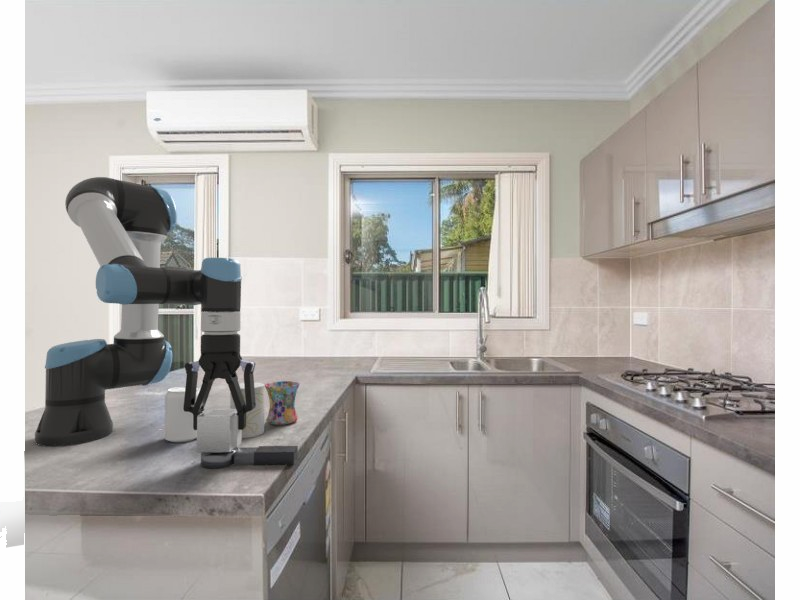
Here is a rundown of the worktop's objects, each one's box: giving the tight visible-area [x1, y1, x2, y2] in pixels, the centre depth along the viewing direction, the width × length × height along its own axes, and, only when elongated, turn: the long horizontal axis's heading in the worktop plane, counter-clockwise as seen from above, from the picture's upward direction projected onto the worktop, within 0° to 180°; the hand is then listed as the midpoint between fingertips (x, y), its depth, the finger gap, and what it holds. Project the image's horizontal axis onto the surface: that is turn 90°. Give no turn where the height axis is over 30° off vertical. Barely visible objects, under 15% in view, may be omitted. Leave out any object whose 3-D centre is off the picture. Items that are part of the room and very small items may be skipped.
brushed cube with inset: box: [196, 408, 237, 453], centre depth 86 cm, size 6×6×7 cm
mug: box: [264, 380, 301, 426], centre depth 118 cm, size 12×9×11 cm
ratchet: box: [200, 445, 299, 470], centre depth 87 cm, size 19×7×8 cm, turn 92°
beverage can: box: [164, 385, 201, 443], centre depth 102 cm, size 8×8×12 cm
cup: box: [229, 382, 265, 439], centre depth 107 cm, size 8×8×12 cm
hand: (219, 445), depth 86 cm, fingers closed on brushed cube with inset, 6 cm apart
